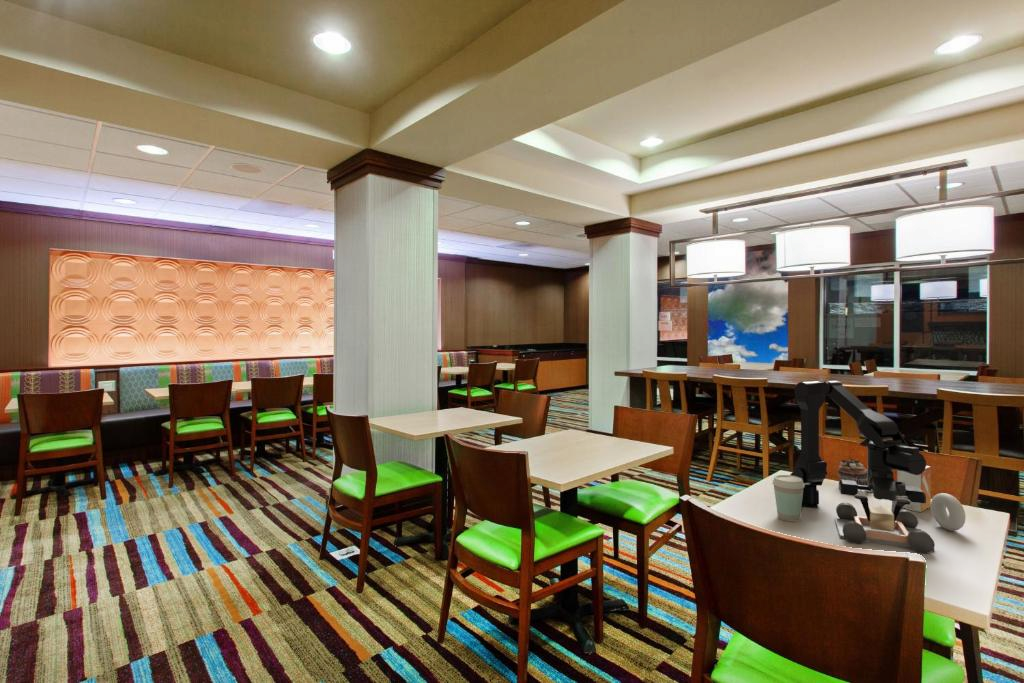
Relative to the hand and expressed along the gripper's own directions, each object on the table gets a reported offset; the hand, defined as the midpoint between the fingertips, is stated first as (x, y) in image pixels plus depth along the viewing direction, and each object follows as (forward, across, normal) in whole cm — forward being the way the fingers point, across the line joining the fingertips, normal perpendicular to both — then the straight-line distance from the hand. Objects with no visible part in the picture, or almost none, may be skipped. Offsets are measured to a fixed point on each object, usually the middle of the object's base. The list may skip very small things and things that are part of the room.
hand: (880, 522), depth 138 cm
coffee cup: (+4, -22, +4) cm, 23 cm away
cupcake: (+4, -1, +45) cm, 45 cm away
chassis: (+4, 0, 0) cm, 4 cm away
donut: (+4, +17, +12) cm, 21 cm away
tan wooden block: (+1, 0, 0) cm, 1 cm away
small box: (+4, +13, +30) cm, 33 cm away
